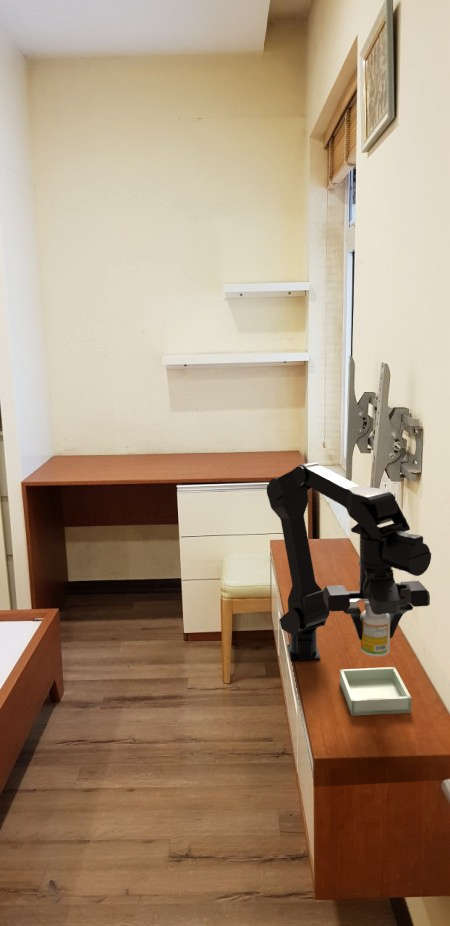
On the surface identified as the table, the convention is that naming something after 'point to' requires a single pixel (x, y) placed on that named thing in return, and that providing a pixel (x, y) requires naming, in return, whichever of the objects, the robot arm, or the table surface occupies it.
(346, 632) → the table surface
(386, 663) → the table surface
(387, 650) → the supplement bottle
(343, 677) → the tray
